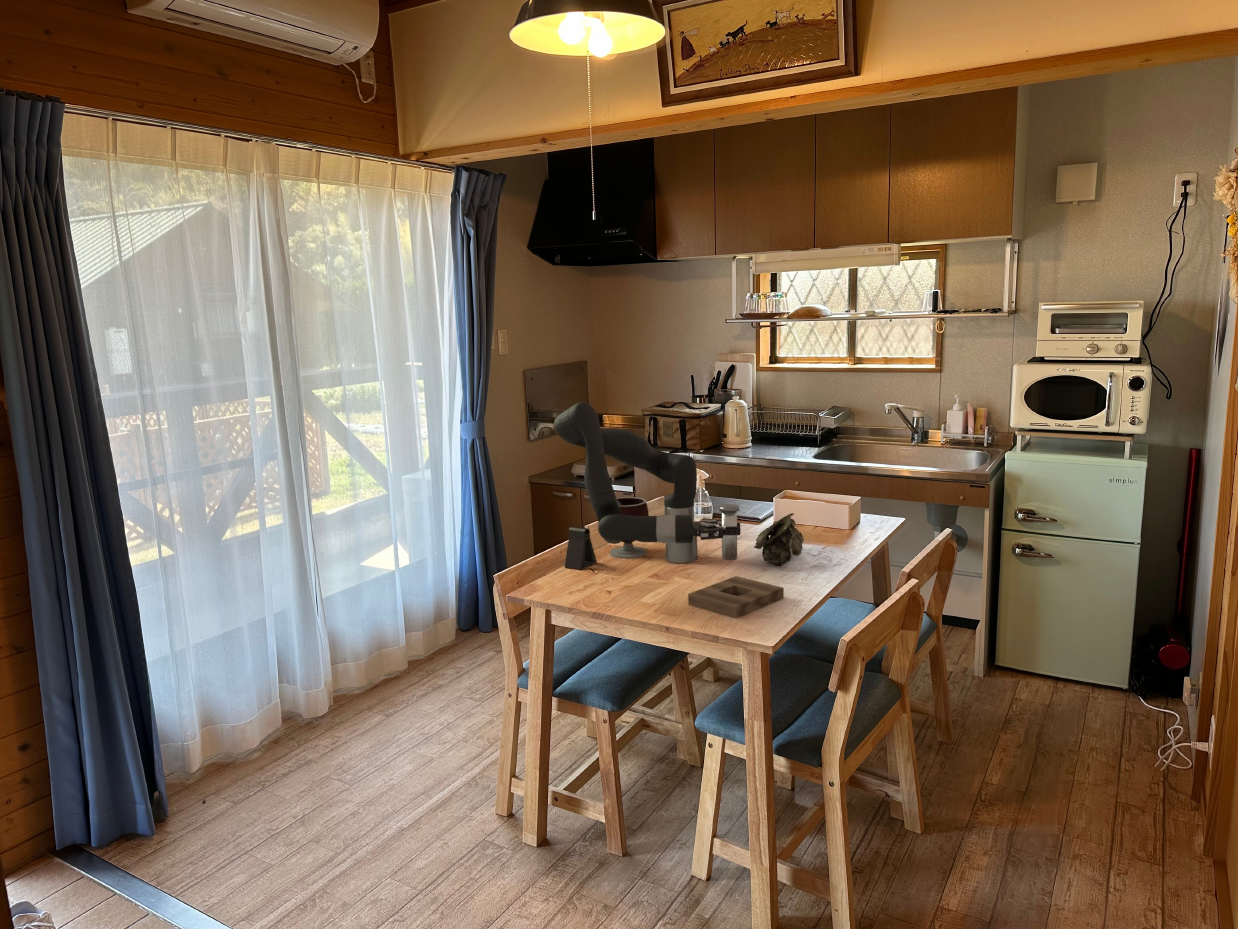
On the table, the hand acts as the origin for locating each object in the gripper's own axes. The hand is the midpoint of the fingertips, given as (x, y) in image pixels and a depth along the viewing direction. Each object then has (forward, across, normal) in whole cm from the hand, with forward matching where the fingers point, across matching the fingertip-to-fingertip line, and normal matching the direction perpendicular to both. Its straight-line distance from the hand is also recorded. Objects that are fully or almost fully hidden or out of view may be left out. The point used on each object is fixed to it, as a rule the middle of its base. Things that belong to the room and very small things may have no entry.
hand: (740, 528), depth 224 cm
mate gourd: (-36, +46, +20) cm, 62 cm away
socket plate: (-1, 0, +20) cm, 20 cm away
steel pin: (-3, 0, +8) cm, 8 cm away
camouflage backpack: (+12, +40, +20) cm, 47 cm away
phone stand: (-49, +34, +20) cm, 63 cm away
